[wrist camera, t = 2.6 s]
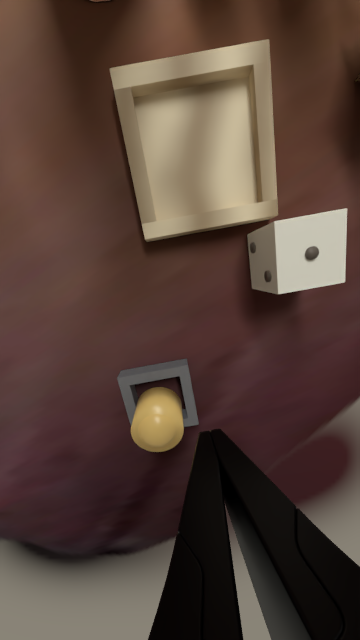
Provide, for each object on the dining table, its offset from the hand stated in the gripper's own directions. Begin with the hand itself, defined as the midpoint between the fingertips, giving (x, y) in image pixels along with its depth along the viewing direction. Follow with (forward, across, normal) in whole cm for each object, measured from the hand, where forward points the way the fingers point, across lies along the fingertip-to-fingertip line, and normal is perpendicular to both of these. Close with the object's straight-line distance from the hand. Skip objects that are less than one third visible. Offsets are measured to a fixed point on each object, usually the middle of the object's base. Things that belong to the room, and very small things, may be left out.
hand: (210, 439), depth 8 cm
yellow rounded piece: (+11, +3, +6) cm, 13 cm away
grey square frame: (+13, +3, +6) cm, 15 cm away
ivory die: (+13, -10, -6) cm, 17 cm away
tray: (+13, -4, -15) cm, 20 cm away
